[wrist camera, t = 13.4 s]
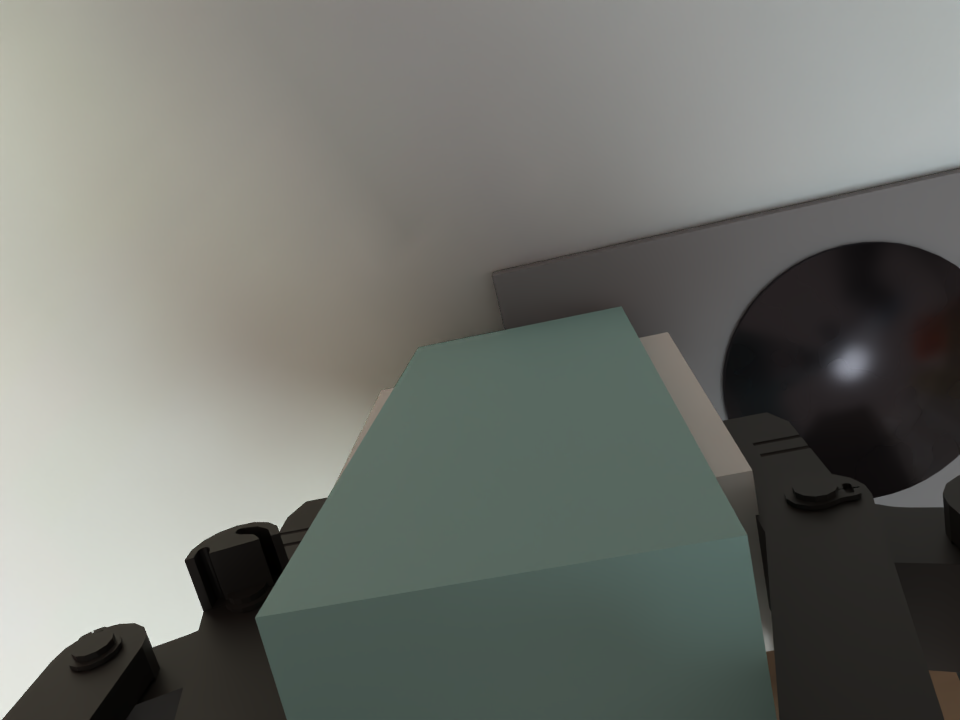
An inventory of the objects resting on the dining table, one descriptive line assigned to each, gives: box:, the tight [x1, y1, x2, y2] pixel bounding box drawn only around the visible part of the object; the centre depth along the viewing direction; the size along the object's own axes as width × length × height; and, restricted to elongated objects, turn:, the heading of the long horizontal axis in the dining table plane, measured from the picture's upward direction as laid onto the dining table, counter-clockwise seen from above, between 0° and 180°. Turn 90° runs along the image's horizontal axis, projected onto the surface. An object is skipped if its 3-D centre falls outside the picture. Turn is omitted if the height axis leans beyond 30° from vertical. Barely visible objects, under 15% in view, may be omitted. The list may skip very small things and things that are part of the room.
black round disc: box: [723, 242, 960, 498], centre depth 19 cm, size 6×6×1 cm
